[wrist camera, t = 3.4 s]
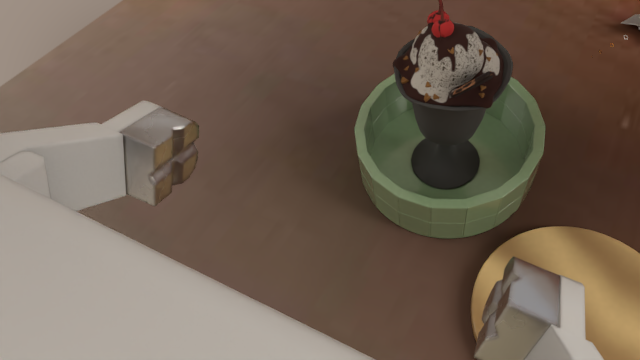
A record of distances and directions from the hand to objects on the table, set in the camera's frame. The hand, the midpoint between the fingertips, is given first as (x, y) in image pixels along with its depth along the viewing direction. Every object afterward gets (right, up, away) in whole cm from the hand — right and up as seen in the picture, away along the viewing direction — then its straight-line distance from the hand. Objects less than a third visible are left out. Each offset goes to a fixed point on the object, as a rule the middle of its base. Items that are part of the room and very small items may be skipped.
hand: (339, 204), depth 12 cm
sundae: (+9, +2, +26) cm, 27 cm away
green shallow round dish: (+9, +2, +26) cm, 27 cm away
